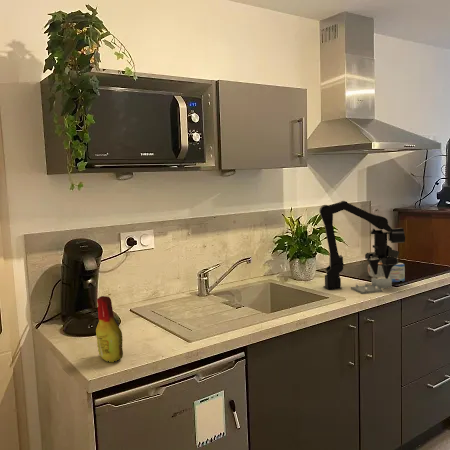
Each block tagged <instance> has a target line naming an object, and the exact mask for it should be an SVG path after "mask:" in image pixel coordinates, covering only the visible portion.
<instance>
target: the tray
mask: <svg viewBox="0 0 450 450" xmlns="http://www.w3.org/2000/svg"><path fill="white" fill-rule="evenodd" d="M350 289H351V290H352V291H355V292H357V293H360V294H361V295H365V294H373V293H381V292H382V293H383V289H380V288H377V286H372V284H369V283H368V282H364V285H359V283H355V285H354V286H350Z"/></svg>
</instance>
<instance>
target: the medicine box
mask: <svg viewBox="0 0 450 450" xmlns="http://www.w3.org/2000/svg"><path fill="white" fill-rule="evenodd" d="M405 272H406V268H405V263H403V262H398V264H396V265H394V266H393V267H392V269H391V271H390V274H389V277H390V278H392V283H399V282H400V281H402V282H405V280H406V277H405V275H406V274H405ZM400 283H401V282H400Z"/></svg>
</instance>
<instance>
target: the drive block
mask: <svg viewBox="0 0 450 450" xmlns="http://www.w3.org/2000/svg"><path fill="white" fill-rule="evenodd" d="M370 278H371V285H372V286H377V288H380V289H382V290H383V289H390V288H391V289H392V287H393V284H392V283H393V282H392V278H390V277H388V278H387V279H386V278H385V276H380V277H373V278H372V277H370Z"/></svg>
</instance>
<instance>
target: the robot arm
mask: <svg viewBox="0 0 450 450" xmlns="http://www.w3.org/2000/svg"><path fill="white" fill-rule="evenodd" d="M341 211H346V212H349V213H351V214H352V215H355V216H357V217H359V218H361V219H363V220H366V221H367V222H368V223H369V224H371V225H372V226H373V227H375V228H376V229H375V228H372V229H371V231H369V234H371V235H374V236H373V238H374V240H373V243H374V244H373V245H372V248H374V251H372V252H370V251H369V252H366V253H365V254H364V256H365V257H364V259H366V262H367V264H368V263H369V264H370V266H371V268H372V270H373V272H374V274H375V275H377V272H378V263H379V262H380V261H381V263H382V264H381V265H382V268H383V272H384V275H385V278H386V279H387V278H388V277H389V274H390V271H391V269H392V267H393V266H394V265H396V264H398V263H399V259H398V258H399V254H400V251H397V250H395V249H393V247H390V245H389V244H388V241H389V242H390V243H391V244H401V243H402V244H404V243H405V241H406V235H405V231H404V228H403V227H397V228H392V226H390V225H389V221H388V219H387V218H386V217H384V216H383V215H379V214H374V213H371V212H368V211H366V210H364V209H362V208H360V207H357V206H355V205H353V204H351V203H349V202H348V201H346V200H341V201H338V202H337V203H332V204H329V205H328V204H323V205H321V206H320V207H319V215H320V217H321V220H322V222H323V225H324V229H325V235H326V240H327V245H328V250H329V252H328V253H329V260H328V261H329V263H328V264H329V265H328V266H327V267H326V268H325V270H324V271H325V273H326V274H325V275H324V285H323V288H324V289H327V290H329V291H331V290H332V291H333V290H342V288H343V287H342V286H341V285H342V283H341V281H342V280H341V279H342V278H341V276H340V273H342V272H343V270H344V266H345V264H344V257H343V255H342V254H339V251H338V246H337V242H336V236H335V235H336V234H335V229H334V214H337V213H339V212H341ZM383 230H385V231H383Z"/></svg>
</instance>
